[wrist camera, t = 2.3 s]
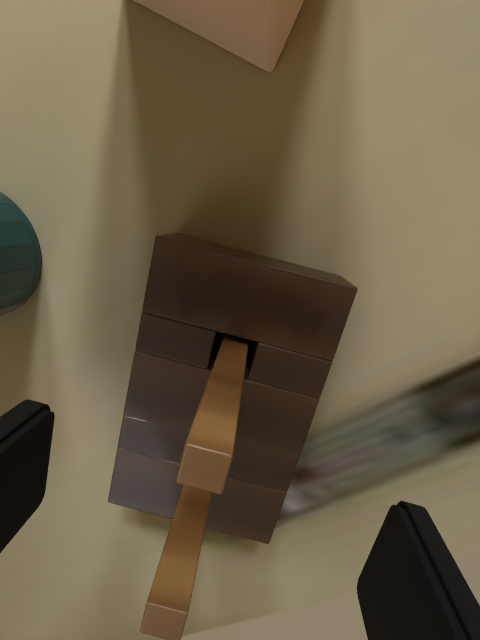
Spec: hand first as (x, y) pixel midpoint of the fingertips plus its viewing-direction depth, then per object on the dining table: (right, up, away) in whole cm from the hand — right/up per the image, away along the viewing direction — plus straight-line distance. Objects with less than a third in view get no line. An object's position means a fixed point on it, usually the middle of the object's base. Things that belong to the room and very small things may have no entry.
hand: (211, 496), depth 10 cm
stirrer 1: (-1, -2, +15) cm, 15 cm away
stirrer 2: (+1, +4, +13) cm, 14 cm away
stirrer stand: (0, +1, +14) cm, 14 cm away
